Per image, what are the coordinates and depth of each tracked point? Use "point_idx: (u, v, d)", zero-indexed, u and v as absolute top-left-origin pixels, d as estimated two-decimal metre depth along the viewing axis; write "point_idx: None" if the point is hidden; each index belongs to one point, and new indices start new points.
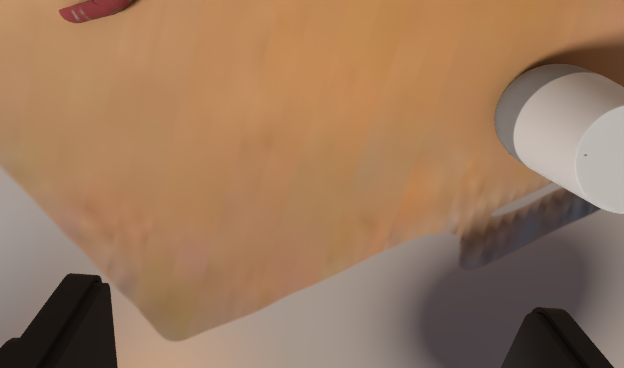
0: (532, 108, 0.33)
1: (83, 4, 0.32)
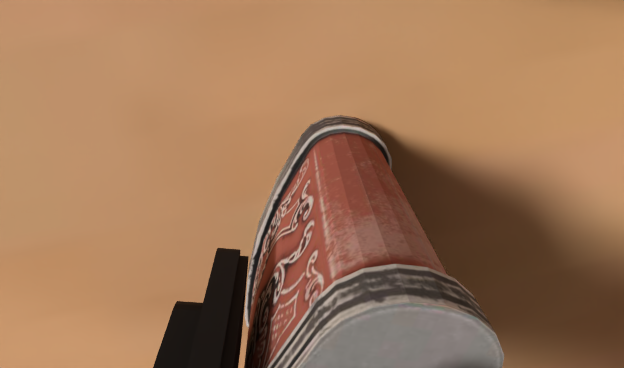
0: None
1: None
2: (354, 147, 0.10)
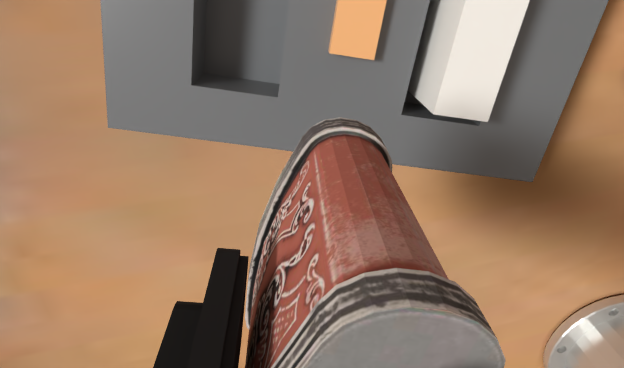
0: None
1: None
2: (354, 150, 0.10)
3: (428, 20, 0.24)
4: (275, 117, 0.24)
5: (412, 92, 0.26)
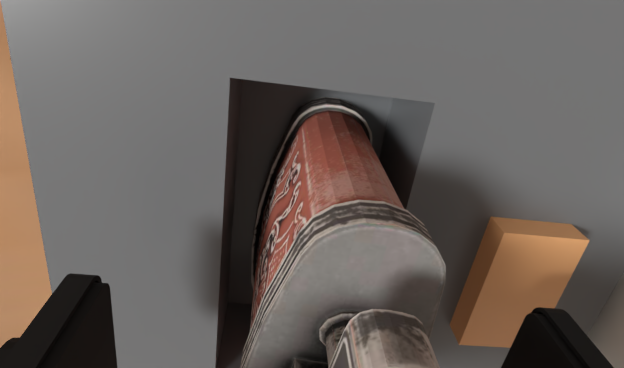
0: None
1: None
2: (336, 121, 0.12)
3: None
4: None
5: None
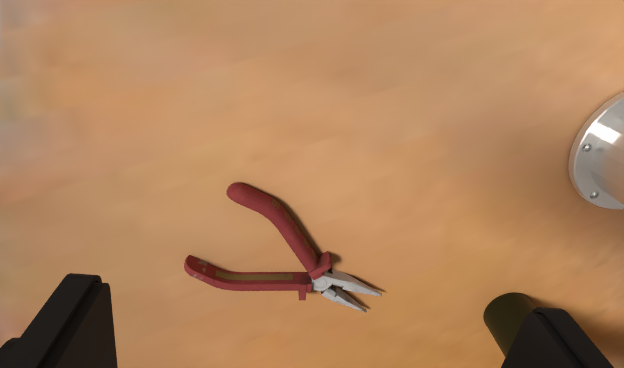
0: None
1: (206, 277, 0.41)
2: None
3: None
4: None
5: None
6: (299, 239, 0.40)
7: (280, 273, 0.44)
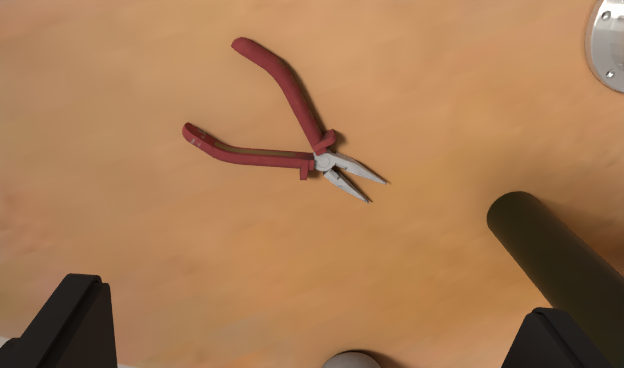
0: None
1: (205, 143, 0.39)
2: None
3: None
4: None
5: None
6: (303, 106, 0.38)
7: (282, 151, 0.42)
